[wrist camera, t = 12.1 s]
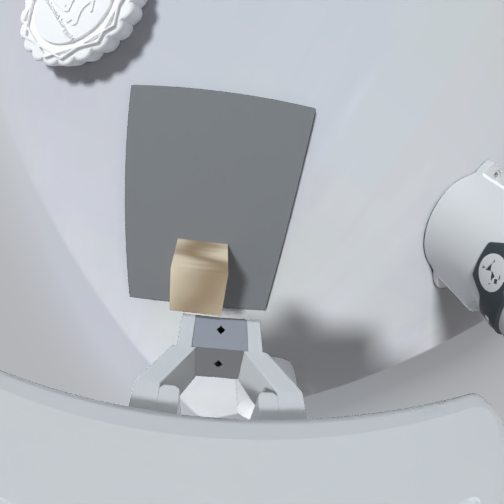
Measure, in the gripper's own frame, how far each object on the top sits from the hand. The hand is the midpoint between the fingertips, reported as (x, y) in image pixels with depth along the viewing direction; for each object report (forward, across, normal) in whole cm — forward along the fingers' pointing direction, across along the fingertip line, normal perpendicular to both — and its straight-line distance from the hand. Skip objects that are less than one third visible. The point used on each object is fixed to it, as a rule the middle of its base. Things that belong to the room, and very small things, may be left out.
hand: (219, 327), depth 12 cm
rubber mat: (+19, +2, +4) cm, 19 cm away
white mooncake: (+19, +15, -16) cm, 29 cm away
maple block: (+13, +2, +10) cm, 16 cm away
